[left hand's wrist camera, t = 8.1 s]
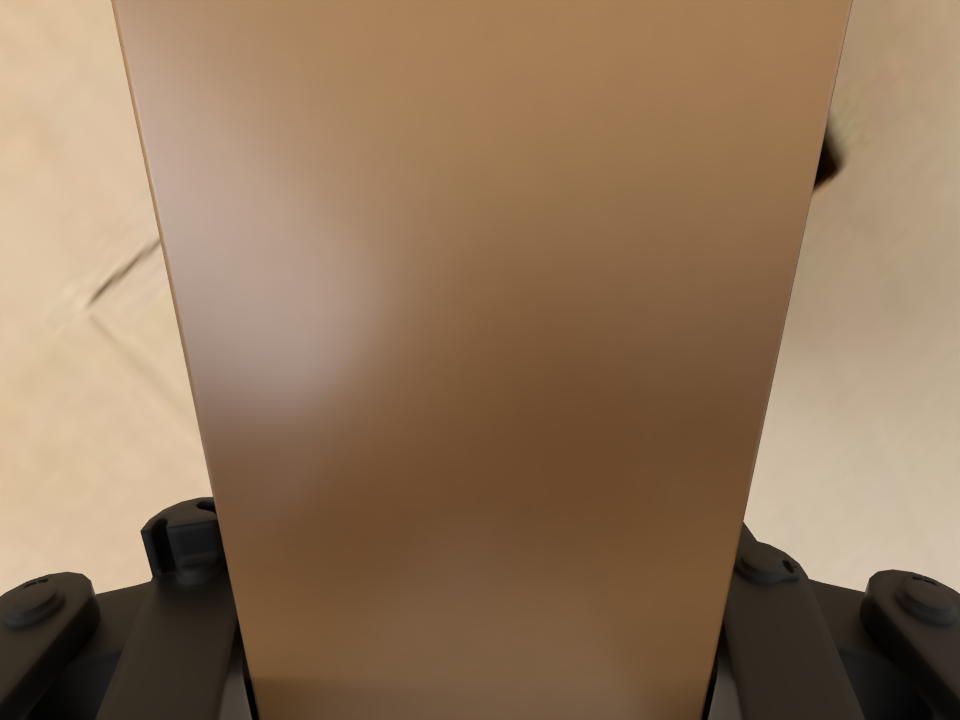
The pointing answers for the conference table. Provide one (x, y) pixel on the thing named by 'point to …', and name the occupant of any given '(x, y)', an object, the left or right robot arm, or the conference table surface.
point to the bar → (481, 329)
